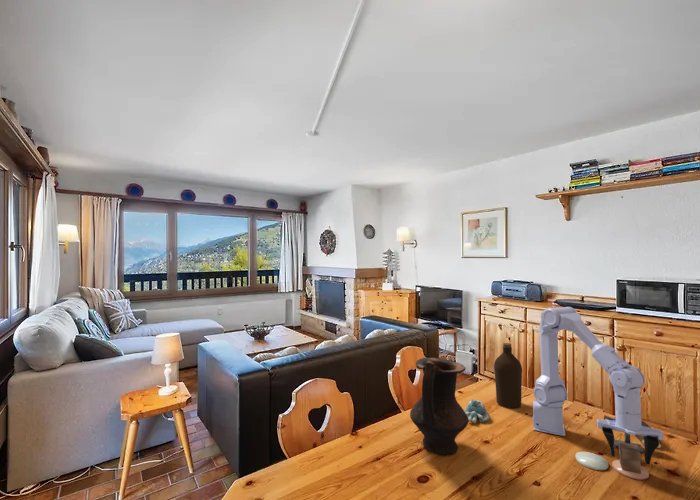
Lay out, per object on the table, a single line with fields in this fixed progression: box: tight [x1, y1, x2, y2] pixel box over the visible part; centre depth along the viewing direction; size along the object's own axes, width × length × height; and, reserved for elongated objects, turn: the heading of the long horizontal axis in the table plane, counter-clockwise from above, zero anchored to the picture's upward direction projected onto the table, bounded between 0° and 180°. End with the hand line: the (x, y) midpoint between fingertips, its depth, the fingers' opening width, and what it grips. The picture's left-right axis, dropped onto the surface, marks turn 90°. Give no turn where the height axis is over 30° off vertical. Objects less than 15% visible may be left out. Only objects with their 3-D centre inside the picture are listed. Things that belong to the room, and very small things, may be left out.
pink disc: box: [611, 459, 650, 481], centre depth 97 cm, size 8×8×1 cm
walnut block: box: [618, 442, 642, 474], centre depth 97 cm, size 4×4×6 cm
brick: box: [633, 420, 660, 443], centre depth 114 cm, size 11×4×5 cm, turn 163°
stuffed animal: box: [462, 399, 491, 424], centre depth 130 cm, size 11×7×12 cm
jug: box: [409, 357, 470, 457], centre depth 110 cm, size 21×18×30 cm
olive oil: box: [493, 342, 523, 410], centre depth 143 cm, size 11×11×25 cm
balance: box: [595, 414, 662, 454], centre depth 109 cm, size 16×4×9 cm, turn 60°
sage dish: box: [574, 451, 609, 471], centre depth 101 cm, size 8×8×1 cm
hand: (629, 458), depth 97 cm, fingers open, 7 cm apart
